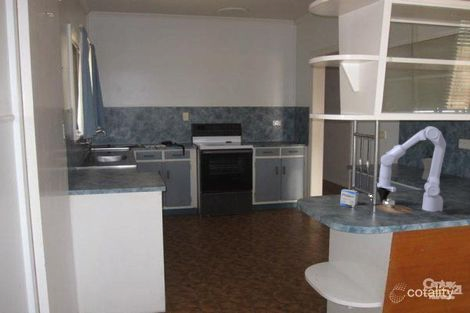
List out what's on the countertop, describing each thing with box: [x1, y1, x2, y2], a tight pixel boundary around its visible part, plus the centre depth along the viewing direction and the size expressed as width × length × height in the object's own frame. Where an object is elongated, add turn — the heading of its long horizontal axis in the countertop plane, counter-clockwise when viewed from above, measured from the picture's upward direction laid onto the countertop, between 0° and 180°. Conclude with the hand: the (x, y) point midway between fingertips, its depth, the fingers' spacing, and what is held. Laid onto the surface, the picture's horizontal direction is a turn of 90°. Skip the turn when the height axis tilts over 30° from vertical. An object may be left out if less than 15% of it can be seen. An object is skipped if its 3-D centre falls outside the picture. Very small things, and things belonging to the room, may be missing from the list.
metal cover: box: [381, 197, 396, 208], centre depth 211 cm, size 6×6×4 cm
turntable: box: [375, 203, 414, 214], centre depth 207 cm, size 18×18×2 cm
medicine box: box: [339, 188, 359, 209], centre depth 214 cm, size 8×4×9 cm, turn 56°
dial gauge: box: [367, 193, 374, 207], centre depth 212 cm, size 4×4×7 cm
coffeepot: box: [420, 155, 444, 181], centre depth 302 cm, size 15×9×18 cm, turn 70°
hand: (382, 202), depth 215 cm, fingers closed
